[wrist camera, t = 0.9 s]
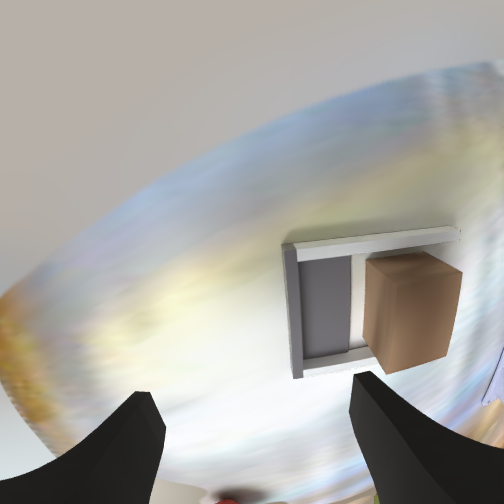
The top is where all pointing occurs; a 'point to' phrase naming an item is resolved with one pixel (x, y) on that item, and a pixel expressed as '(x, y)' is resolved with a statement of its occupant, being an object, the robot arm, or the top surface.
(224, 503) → the pomegranate
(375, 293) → the walnut block
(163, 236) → the top surface
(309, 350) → the channel
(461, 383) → the top surface
